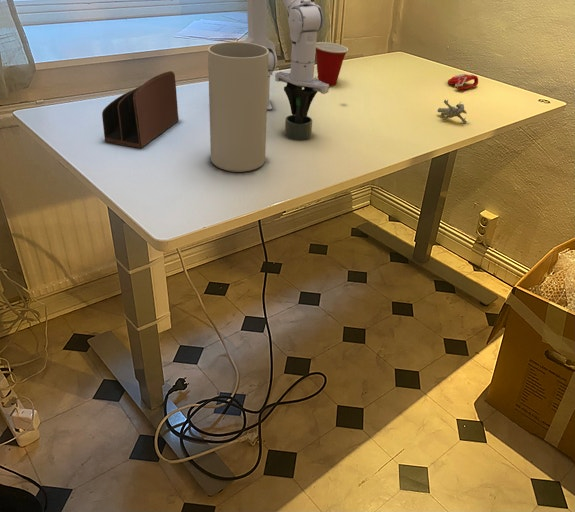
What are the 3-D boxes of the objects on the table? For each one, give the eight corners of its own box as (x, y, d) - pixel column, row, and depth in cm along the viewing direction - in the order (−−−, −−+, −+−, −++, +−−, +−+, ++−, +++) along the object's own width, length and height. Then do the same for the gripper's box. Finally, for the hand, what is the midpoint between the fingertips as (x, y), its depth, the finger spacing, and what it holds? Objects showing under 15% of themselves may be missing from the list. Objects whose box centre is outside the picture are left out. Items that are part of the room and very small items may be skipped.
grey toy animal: (456, 114, 163) (477, 114, 154) (445, 131, 162) (466, 131, 154) (435, 92, 158) (455, 91, 150) (423, 110, 158) (443, 109, 150)
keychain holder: (442, 77, 188) (470, 70, 188) (443, 90, 190) (471, 83, 190) (456, 79, 177) (486, 72, 177) (458, 93, 179) (487, 86, 179)
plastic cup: (345, 89, 176) (350, 50, 169) (311, 88, 175) (314, 48, 169) (343, 79, 185) (347, 42, 178) (311, 77, 184) (313, 40, 178)
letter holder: (179, 121, 147) (176, 67, 139) (141, 149, 131) (135, 90, 123) (145, 115, 149) (140, 61, 141) (104, 142, 133) (96, 83, 125)
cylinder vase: (237, 145, 135) (237, 39, 121) (276, 161, 129) (281, 51, 115) (199, 160, 127) (195, 48, 113) (238, 178, 121) (239, 61, 107)
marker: (294, 134, 142) (296, 99, 137) (293, 131, 143) (295, 96, 138) (303, 134, 142) (305, 99, 137) (301, 131, 144) (303, 96, 139)
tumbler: (287, 140, 140) (288, 124, 137) (282, 130, 145) (283, 114, 143) (313, 139, 141) (314, 124, 139) (308, 129, 146) (309, 114, 144)
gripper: (337, 63, 132) (331, 117, 140) (287, 51, 138) (285, 104, 146) (321, 69, 127) (316, 125, 135) (271, 56, 134) (269, 111, 141)
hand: (299, 115), depth 140 cm, fingers closed on marker, 2 cm apart
